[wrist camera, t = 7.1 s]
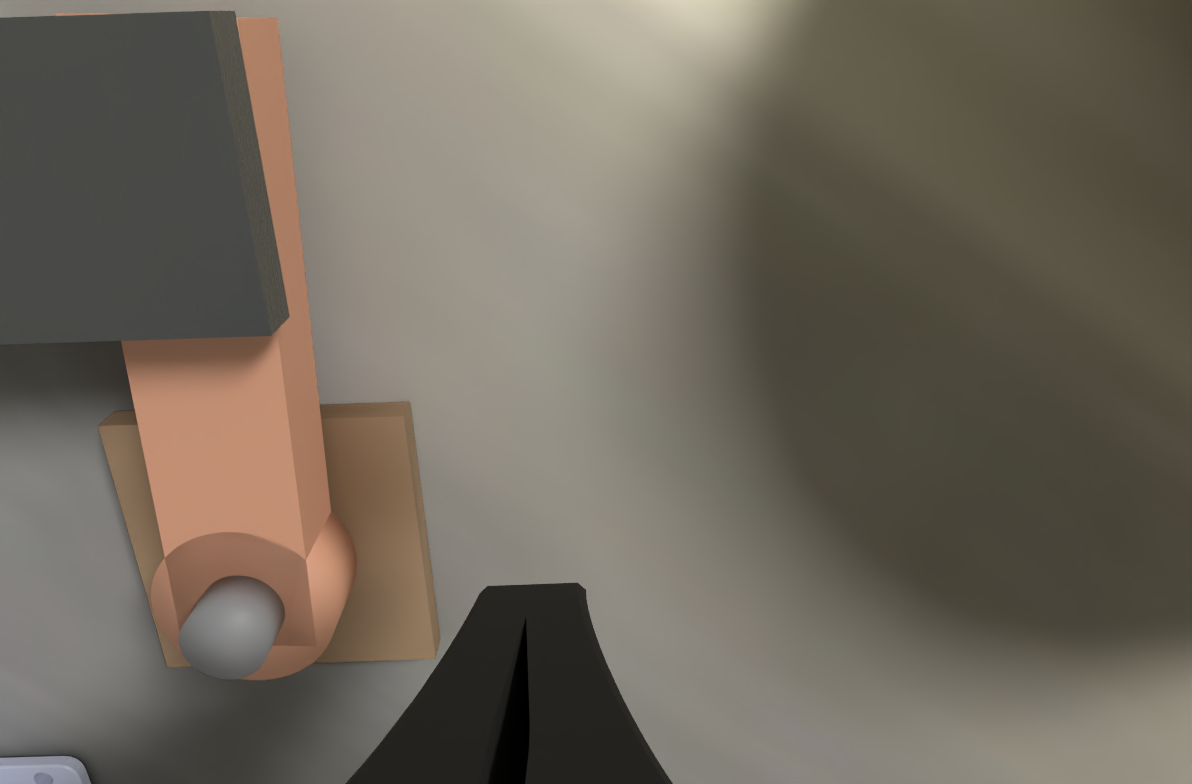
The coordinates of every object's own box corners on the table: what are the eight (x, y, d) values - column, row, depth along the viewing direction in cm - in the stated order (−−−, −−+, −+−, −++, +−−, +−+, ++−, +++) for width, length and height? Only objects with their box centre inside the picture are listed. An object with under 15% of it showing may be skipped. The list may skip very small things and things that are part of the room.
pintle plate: (180, 646, 23) (167, 667, 23) (115, 410, 21) (97, 426, 20) (440, 638, 23) (435, 658, 23) (410, 401, 21) (403, 416, 20)
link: (363, 625, 22) (328, 720, 19) (202, 622, 22) (142, 718, 19) (304, 19, 16) (242, 20, 13) (87, 13, 16) (-23, 12, 13)
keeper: (-2, 269, 19) (-187, 350, 15) (-80, 24, 17) (-321, 28, 13) (346, 258, 19) (271, 336, 15) (309, 11, 17) (208, 10, 13)
